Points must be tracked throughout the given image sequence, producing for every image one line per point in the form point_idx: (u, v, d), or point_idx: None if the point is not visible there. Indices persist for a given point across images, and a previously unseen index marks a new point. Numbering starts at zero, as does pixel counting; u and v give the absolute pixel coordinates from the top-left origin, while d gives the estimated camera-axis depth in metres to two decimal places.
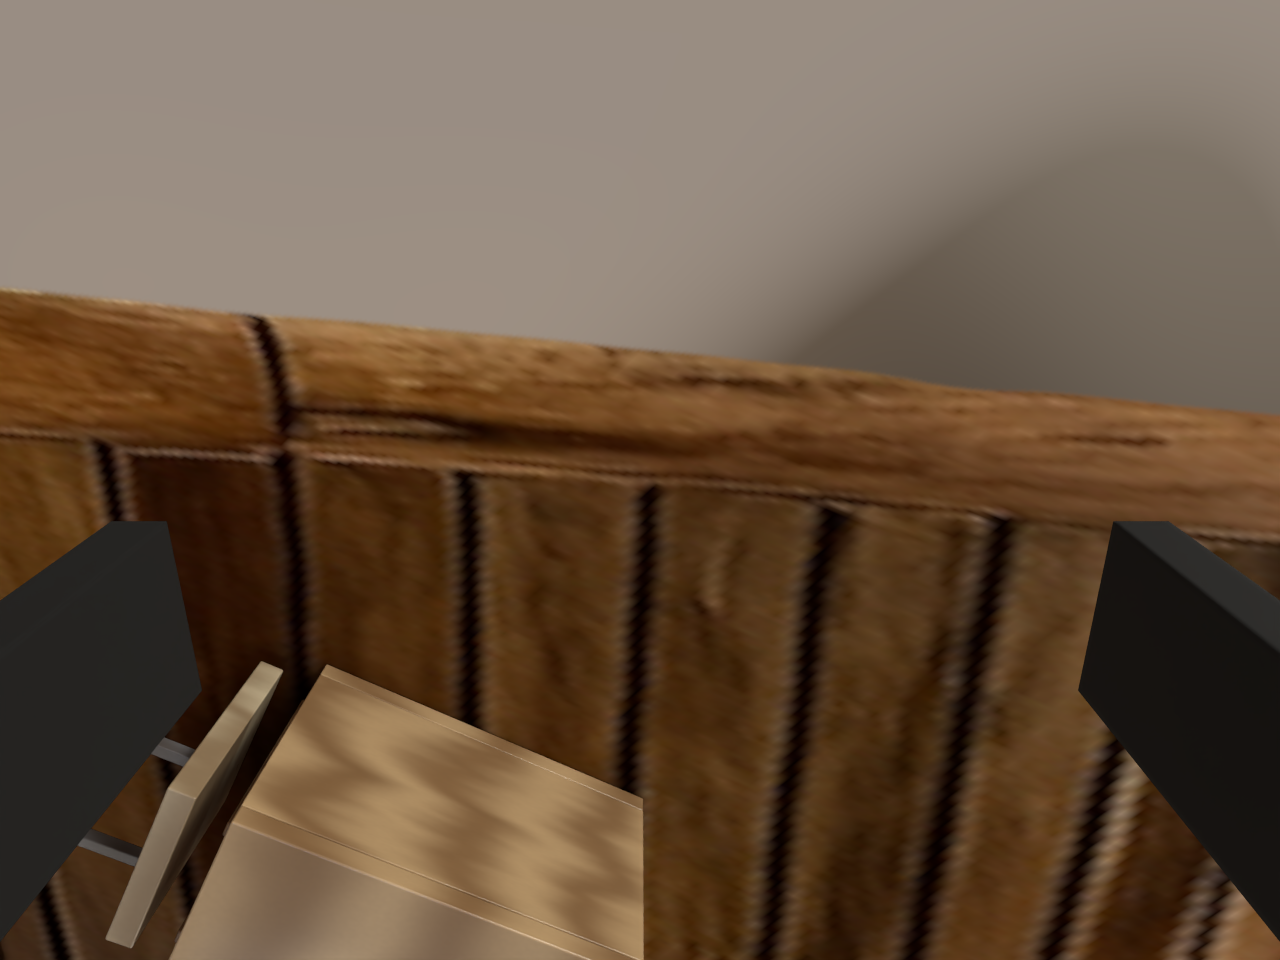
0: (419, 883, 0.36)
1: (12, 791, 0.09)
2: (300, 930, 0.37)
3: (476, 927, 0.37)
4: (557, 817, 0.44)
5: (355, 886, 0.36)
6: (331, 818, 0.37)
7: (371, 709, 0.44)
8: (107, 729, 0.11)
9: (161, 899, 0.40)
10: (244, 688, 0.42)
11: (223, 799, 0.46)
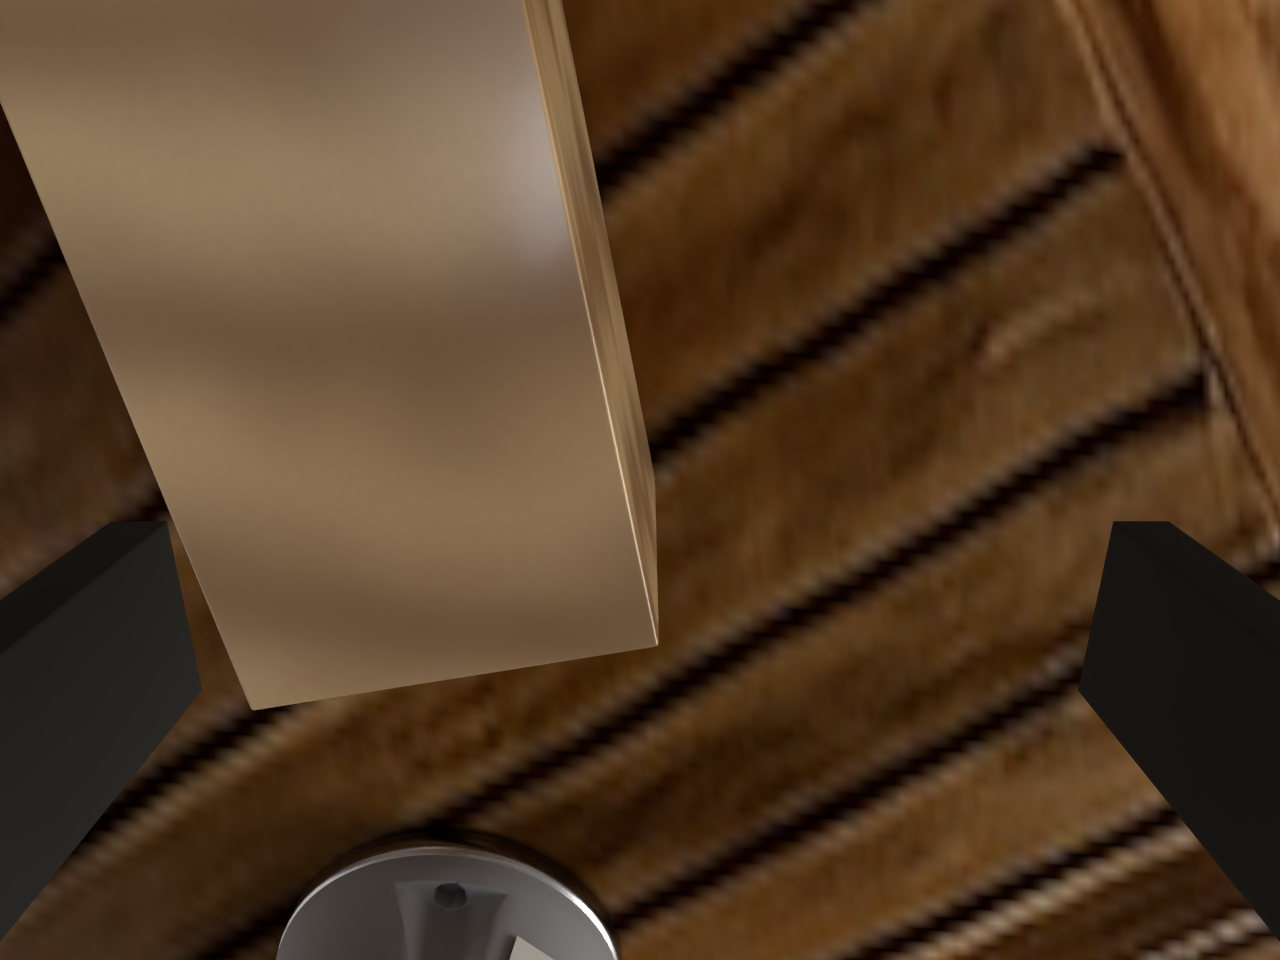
0: (568, 197, 0.18)
1: (12, 791, 0.09)
2: (313, 52, 0.17)
3: (570, 346, 0.19)
4: (627, 378, 0.26)
5: (497, 81, 0.17)
6: None
7: (557, 0, 0.25)
8: (107, 729, 0.11)
9: None
10: None
11: None
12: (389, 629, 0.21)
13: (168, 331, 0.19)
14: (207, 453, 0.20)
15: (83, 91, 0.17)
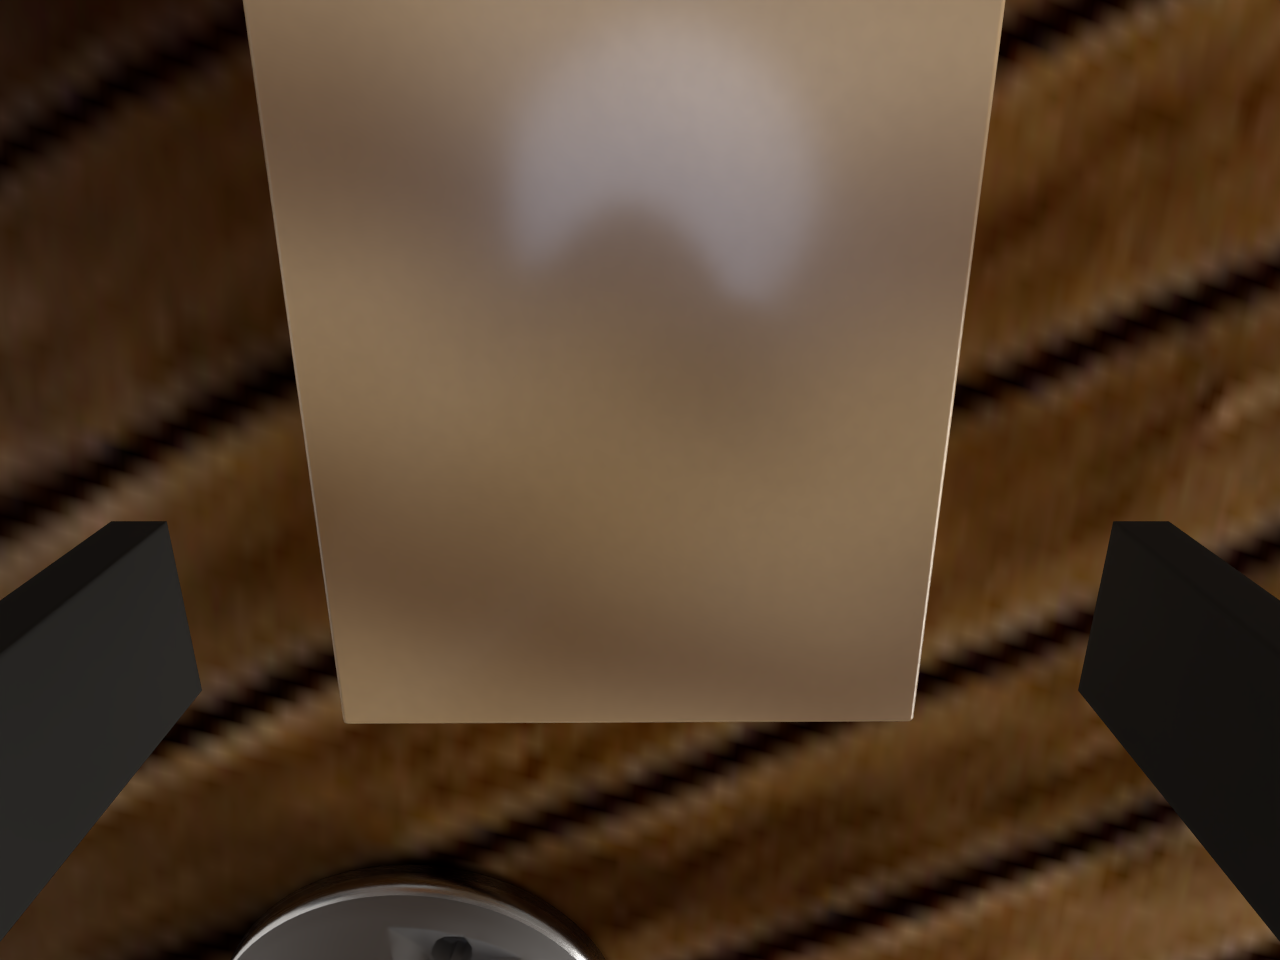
0: None
1: (11, 791, 0.09)
2: None
3: (933, 303, 0.13)
4: None
5: None
6: None
7: None
8: (107, 729, 0.11)
9: None
10: None
11: None
12: (566, 644, 0.15)
13: (374, 172, 0.13)
14: (382, 360, 0.14)
15: None
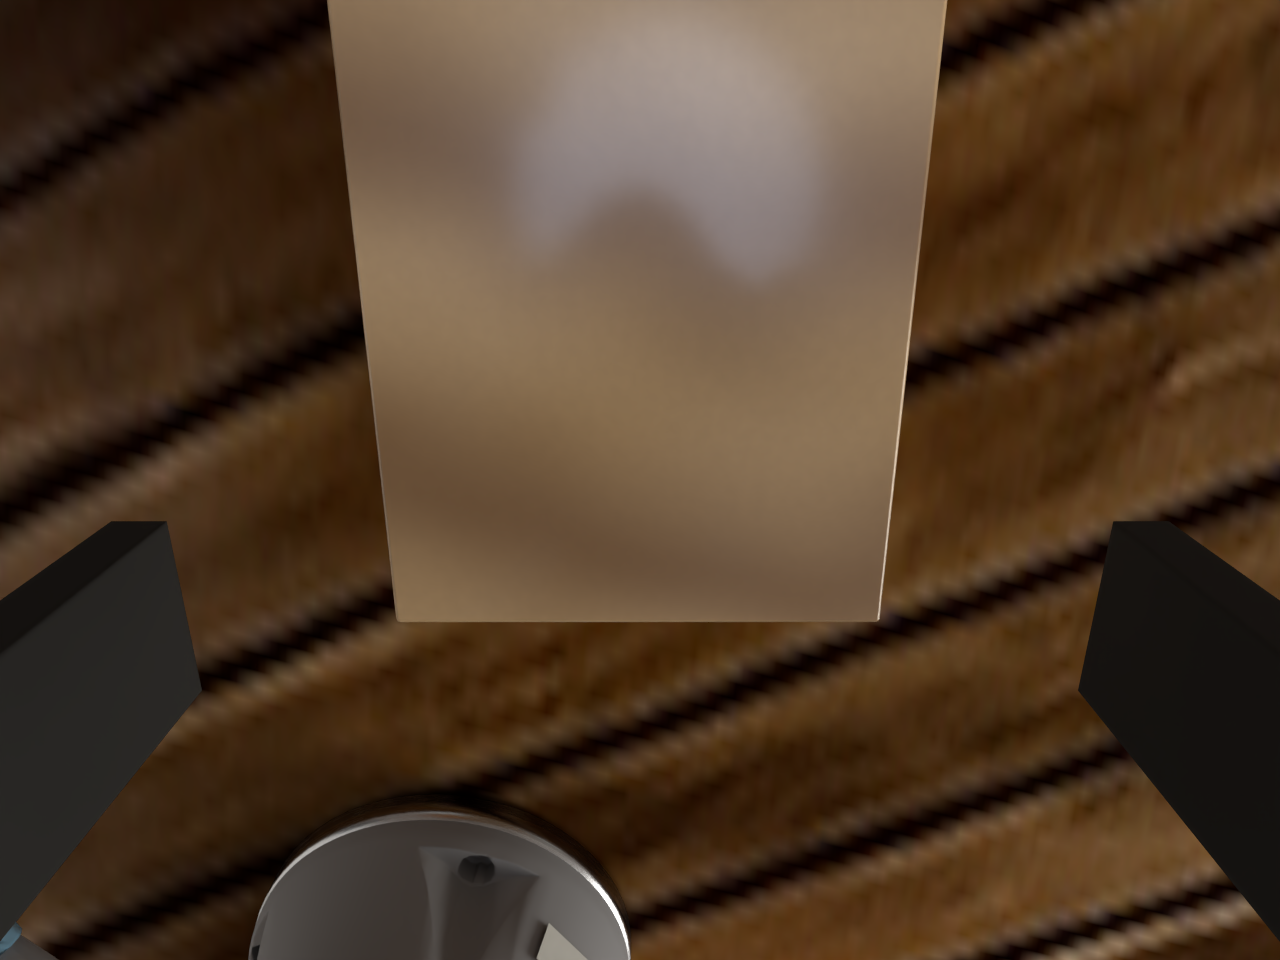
0: None
1: (11, 790, 0.09)
2: None
3: (891, 261, 0.16)
4: None
5: None
6: None
7: None
8: (107, 729, 0.11)
9: None
10: None
11: None
12: (585, 553, 0.18)
13: (431, 152, 0.16)
14: (436, 309, 0.17)
15: None
